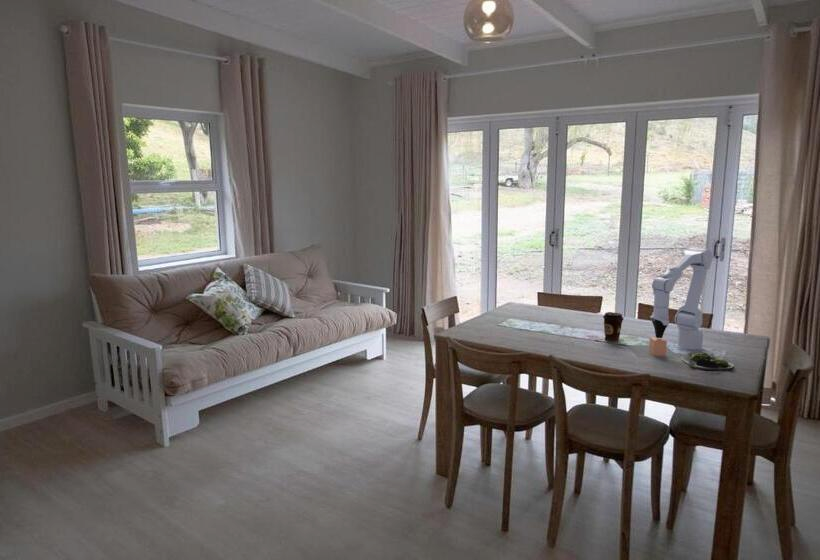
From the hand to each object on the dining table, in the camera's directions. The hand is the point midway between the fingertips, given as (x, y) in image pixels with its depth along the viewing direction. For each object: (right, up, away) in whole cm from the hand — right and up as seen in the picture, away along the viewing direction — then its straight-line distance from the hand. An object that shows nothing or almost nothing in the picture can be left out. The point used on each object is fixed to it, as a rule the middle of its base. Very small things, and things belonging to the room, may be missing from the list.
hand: (658, 337), depth 233 cm
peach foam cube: (0, -7, +1) cm, 7 cm away
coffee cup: (-12, -4, +22) cm, 26 cm away
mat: (-1, -7, +5) cm, 9 cm away
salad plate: (+14, -10, -12) cm, 21 cm away
